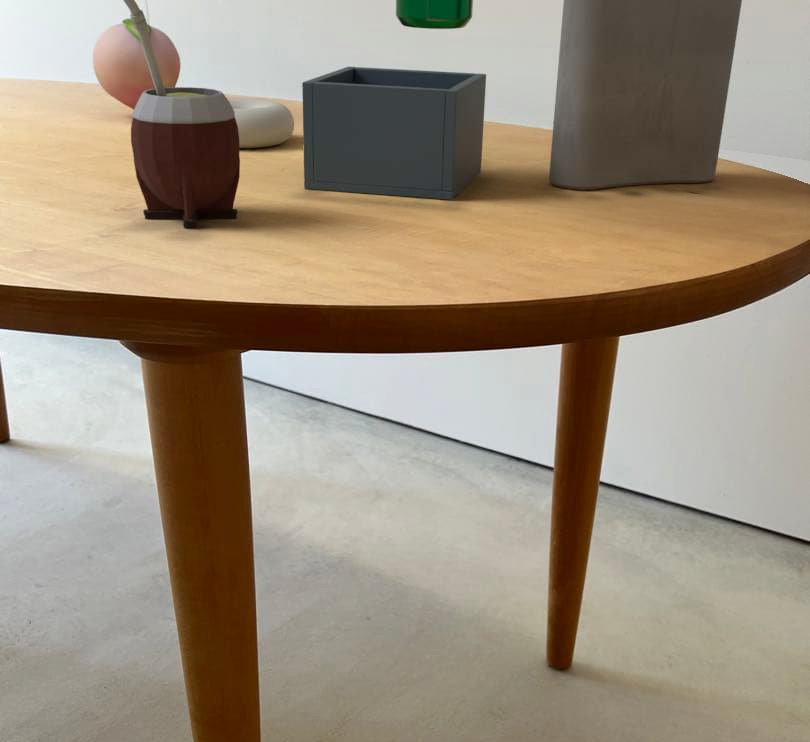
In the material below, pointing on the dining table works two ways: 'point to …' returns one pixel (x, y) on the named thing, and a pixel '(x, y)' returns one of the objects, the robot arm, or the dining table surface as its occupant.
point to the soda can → (434, 13)
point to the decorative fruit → (133, 62)
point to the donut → (261, 122)
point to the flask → (641, 91)
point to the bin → (393, 131)
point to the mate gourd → (183, 146)
